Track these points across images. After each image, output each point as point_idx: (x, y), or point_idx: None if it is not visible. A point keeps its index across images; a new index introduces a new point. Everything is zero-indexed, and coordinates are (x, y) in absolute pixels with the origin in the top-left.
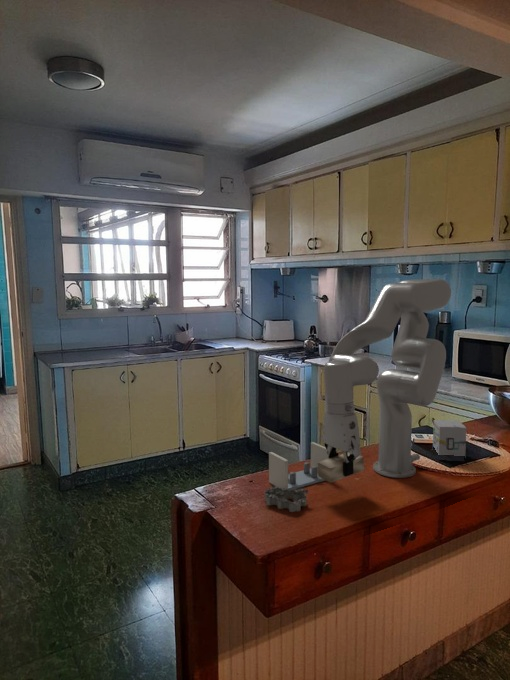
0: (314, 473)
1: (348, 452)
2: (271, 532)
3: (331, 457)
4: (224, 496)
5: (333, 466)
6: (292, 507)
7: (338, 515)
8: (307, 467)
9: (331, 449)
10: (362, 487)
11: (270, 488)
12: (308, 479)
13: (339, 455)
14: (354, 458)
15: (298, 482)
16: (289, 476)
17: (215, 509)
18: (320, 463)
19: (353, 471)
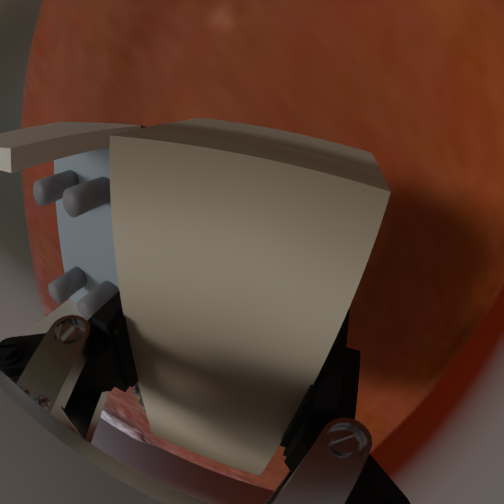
0: (97, 206)
1: (121, 190)
2: (280, 471)
3: (136, 377)
4: (108, 398)
5: (257, 464)
6: None
7: (372, 382)
8: (56, 196)
9: (93, 421)
10: (314, 81)
11: (138, 396)
12: (110, 229)
13: (130, 315)
14: (379, 484)
15: (114, 275)
16: (71, 252)
17: (148, 437)
18: (173, 443)
19: (348, 314)
